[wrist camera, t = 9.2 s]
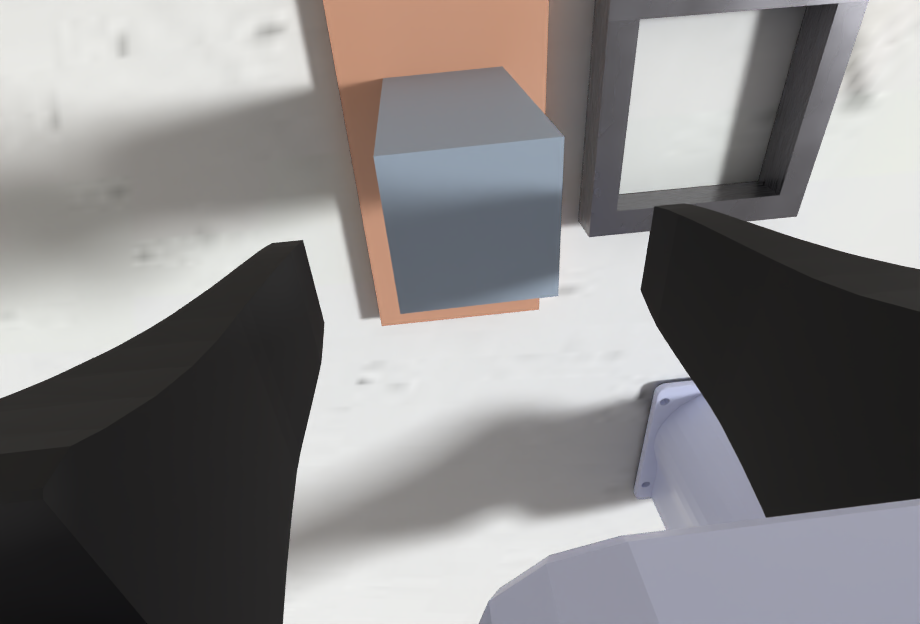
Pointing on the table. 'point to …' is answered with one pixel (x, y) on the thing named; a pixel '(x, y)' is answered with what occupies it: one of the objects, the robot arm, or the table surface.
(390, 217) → the metal peg
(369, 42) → the terracotta tile
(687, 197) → the iron collar
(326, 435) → the table surface
